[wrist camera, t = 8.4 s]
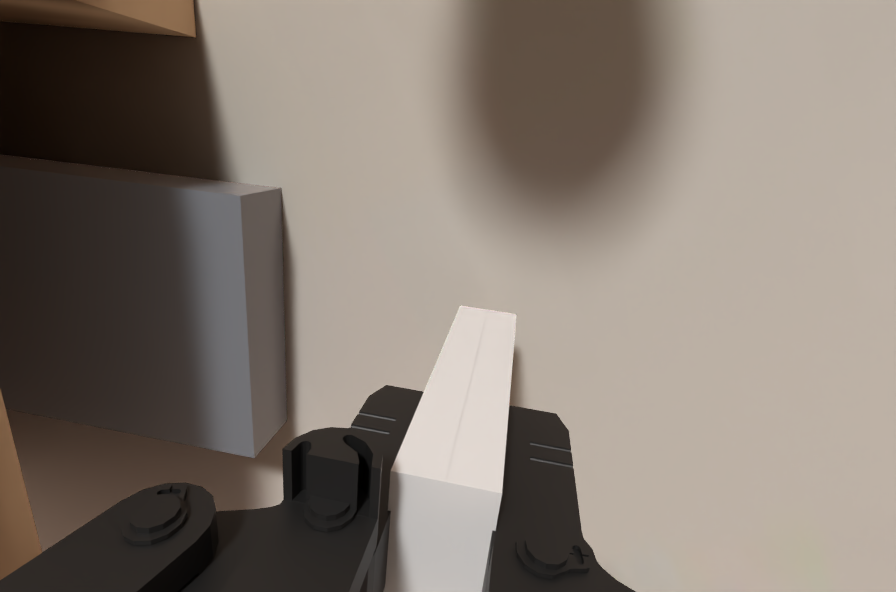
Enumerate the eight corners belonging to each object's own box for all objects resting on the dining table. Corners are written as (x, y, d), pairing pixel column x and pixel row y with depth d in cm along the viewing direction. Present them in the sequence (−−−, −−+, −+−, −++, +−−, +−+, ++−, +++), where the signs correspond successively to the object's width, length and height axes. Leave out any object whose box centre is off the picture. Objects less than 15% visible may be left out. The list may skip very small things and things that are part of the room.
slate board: (288, 186, 14) (240, 196, 12) (292, 413, 17) (254, 458, 14) (2, 152, 15) (-93, 154, 13) (48, 368, 18) (-24, 402, 16)
